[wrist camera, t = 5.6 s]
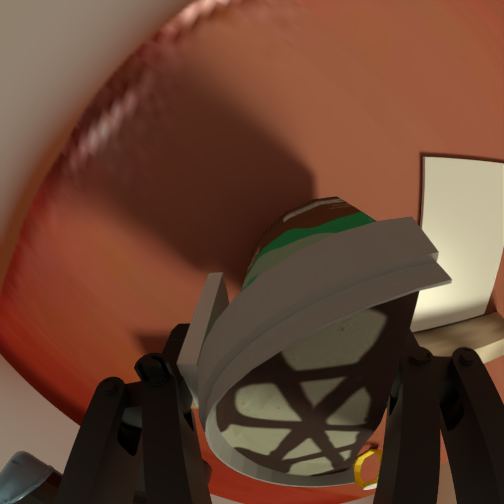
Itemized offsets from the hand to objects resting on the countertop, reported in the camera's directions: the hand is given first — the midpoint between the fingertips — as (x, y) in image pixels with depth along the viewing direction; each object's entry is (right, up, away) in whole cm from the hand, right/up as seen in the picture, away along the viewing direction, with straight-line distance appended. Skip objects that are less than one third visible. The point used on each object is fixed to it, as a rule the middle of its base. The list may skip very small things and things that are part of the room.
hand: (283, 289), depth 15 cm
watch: (+14, -26, +14) cm, 33 cm away
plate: (+14, +2, +1) cm, 14 cm away
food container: (0, 0, +1) cm, 1 cm away
